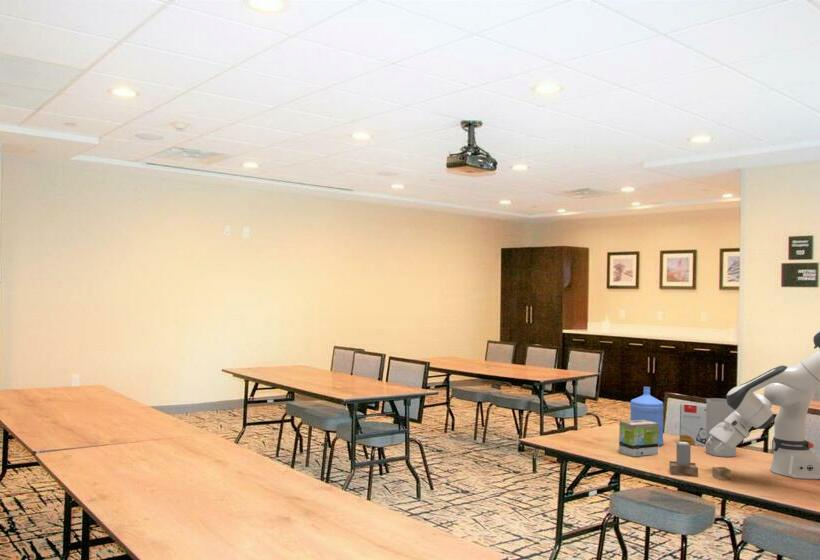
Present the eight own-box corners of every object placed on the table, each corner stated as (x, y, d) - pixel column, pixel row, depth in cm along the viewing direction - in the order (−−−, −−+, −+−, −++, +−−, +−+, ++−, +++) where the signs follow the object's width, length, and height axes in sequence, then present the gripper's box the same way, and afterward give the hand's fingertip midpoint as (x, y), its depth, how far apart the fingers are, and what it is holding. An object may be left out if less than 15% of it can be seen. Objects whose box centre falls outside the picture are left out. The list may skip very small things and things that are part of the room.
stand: (695, 471, 271) (695, 463, 271) (697, 476, 263) (697, 467, 263) (669, 469, 274) (669, 461, 274) (671, 474, 266) (671, 465, 266)
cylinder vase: (700, 452, 306) (700, 399, 306) (718, 450, 311) (719, 397, 312) (723, 458, 295) (723, 403, 295) (742, 456, 300) (742, 401, 300)
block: (724, 476, 264) (724, 467, 264) (731, 480, 259) (731, 470, 259) (712, 476, 264) (712, 467, 264) (719, 480, 259) (719, 470, 259)
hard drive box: (679, 443, 324) (679, 403, 324) (680, 440, 330) (680, 401, 331) (713, 447, 316) (713, 406, 317) (714, 444, 323) (714, 404, 324)
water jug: (660, 448, 313) (660, 390, 313) (626, 444, 321) (627, 387, 321) (665, 442, 326) (666, 386, 327) (633, 438, 334) (633, 384, 335)
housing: (687, 464, 270) (687, 441, 271) (690, 467, 266) (690, 444, 266) (676, 464, 271) (676, 441, 271) (679, 466, 267) (679, 443, 267)
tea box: (633, 457, 294) (634, 424, 295) (618, 452, 303) (618, 420, 304) (658, 454, 300) (659, 422, 301) (642, 449, 309) (643, 418, 310)
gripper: (720, 415, 277) (696, 437, 278) (739, 424, 257) (713, 448, 258) (731, 426, 276) (707, 448, 277) (751, 436, 256) (725, 460, 257)
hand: (710, 448), depth 267 cm, fingers open, 8 cm apart
